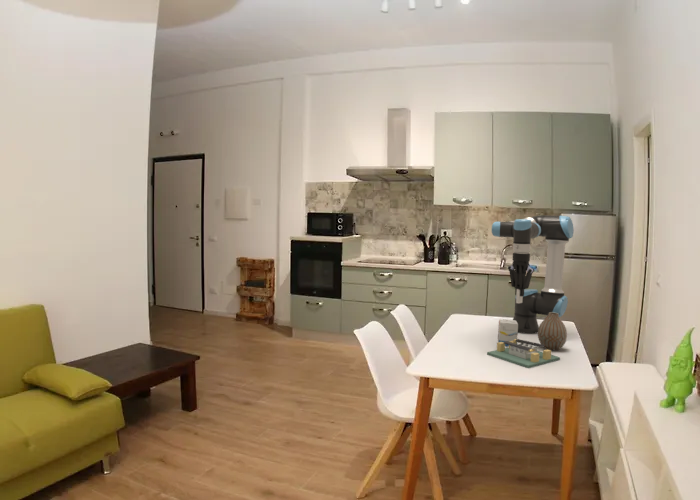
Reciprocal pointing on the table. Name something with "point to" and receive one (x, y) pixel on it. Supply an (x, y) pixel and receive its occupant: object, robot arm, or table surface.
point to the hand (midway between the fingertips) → (519, 302)
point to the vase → (552, 332)
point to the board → (521, 360)
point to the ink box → (507, 330)
